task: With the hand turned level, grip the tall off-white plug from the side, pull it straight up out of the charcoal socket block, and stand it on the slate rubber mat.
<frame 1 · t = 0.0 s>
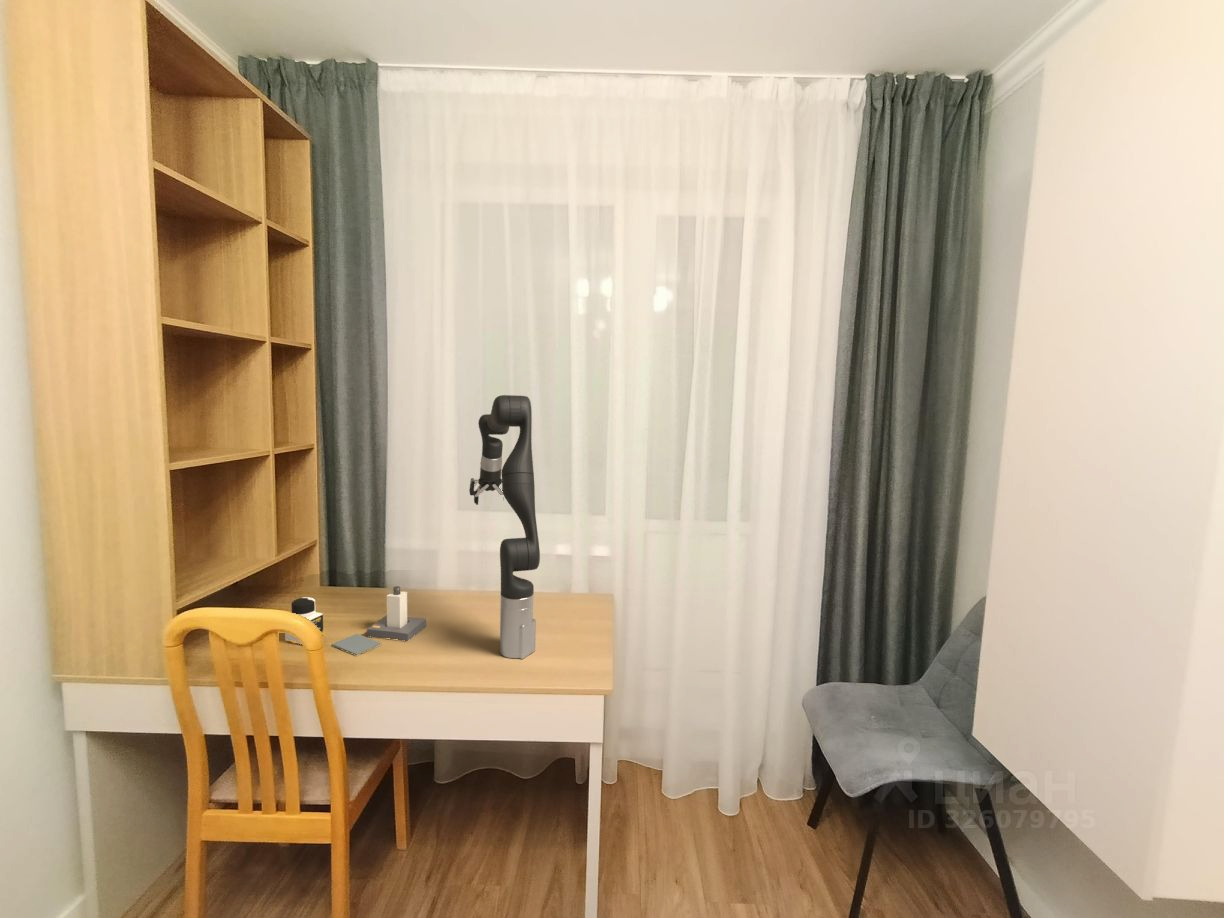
hand: (488, 503, 208), 31 cm above the table, tool tilted 20°, fingers open, 8 cm apart
mat: (356, 645, 159), on the table
socket block: (397, 631, 169), on the table
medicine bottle: (304, 639, 162), on the table
plug: (397, 609, 168), in the socket block
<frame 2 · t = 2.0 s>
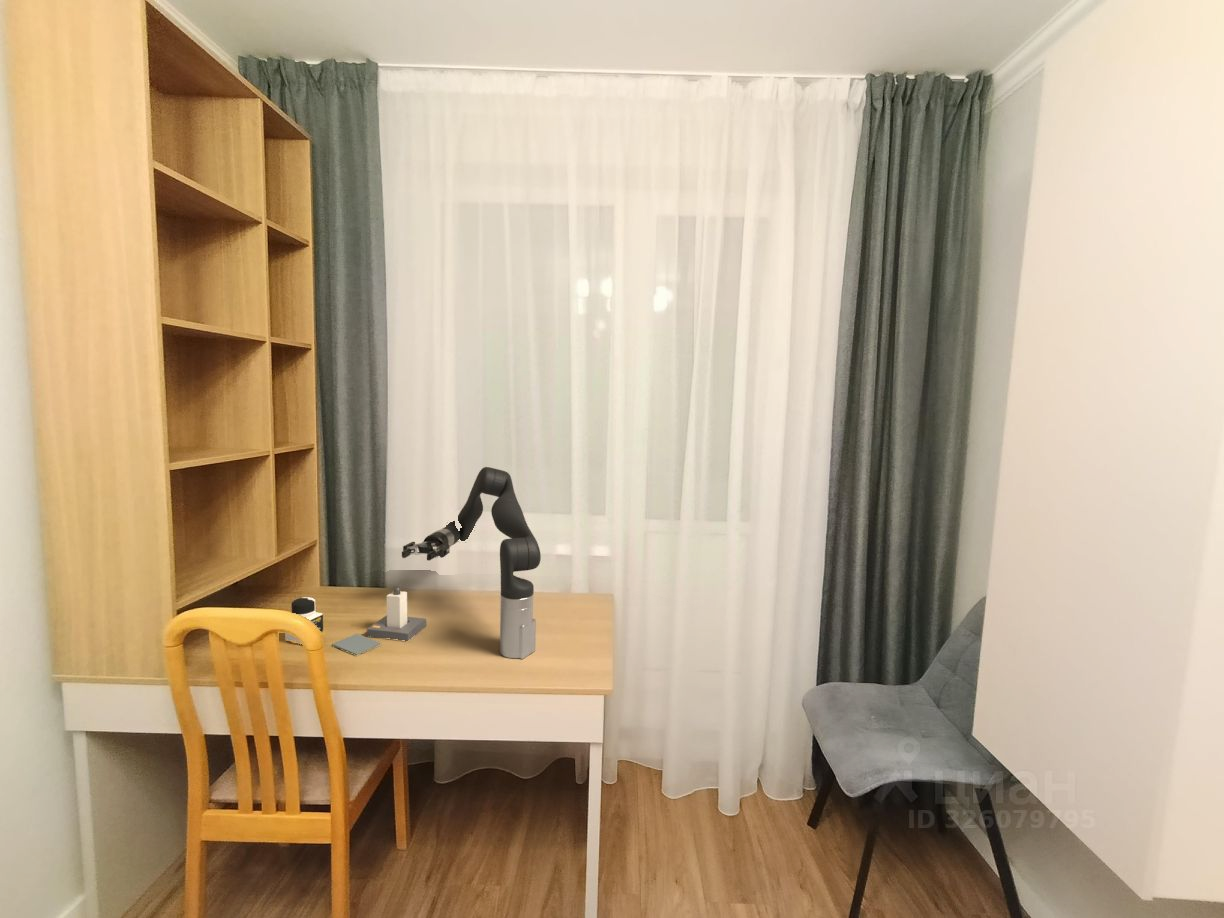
hand: (415, 556, 178), 20 cm above the table, tool horizontal, fingers open, 8 cm apart
nothing on the table moved.
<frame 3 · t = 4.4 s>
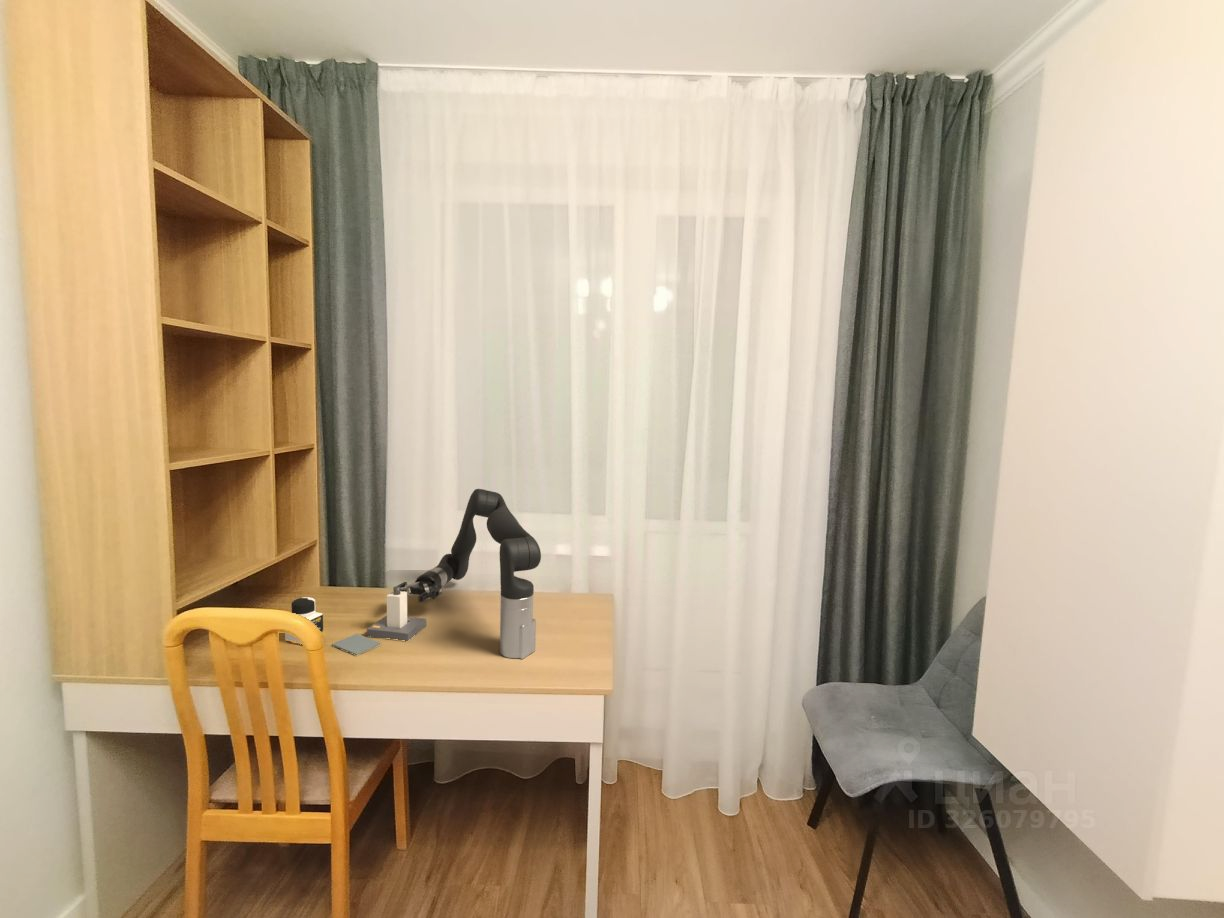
hand: (406, 598, 174), 8 cm above the table, tool horizontal, fingers open, 8 cm apart
nothing on the table moved.
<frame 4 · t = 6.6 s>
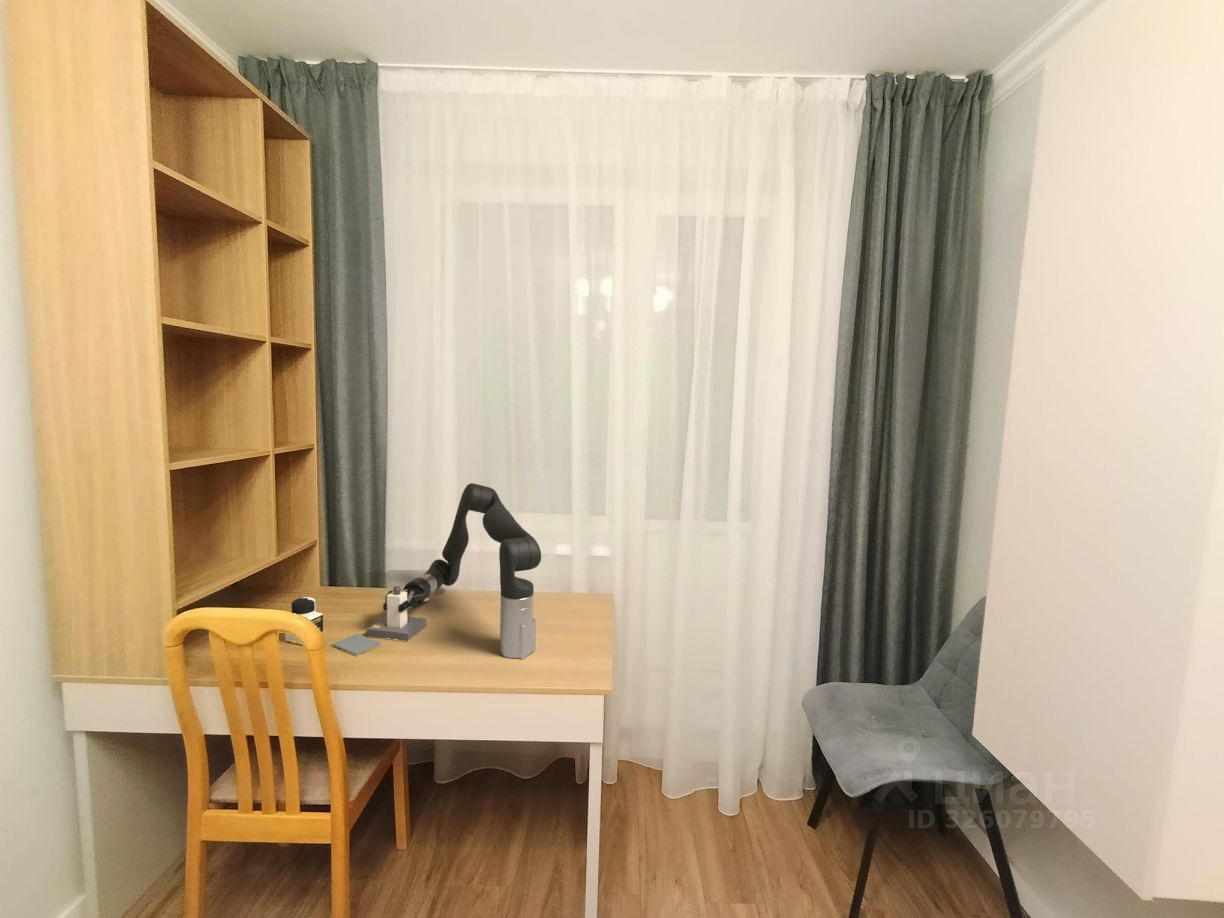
hand: (392, 608, 166), 9 cm above the table, tool horizontal, fingers closed on plug, 4 cm apart
plug: (397, 609, 168), in the socket block, touching gripper
everything else where it was.
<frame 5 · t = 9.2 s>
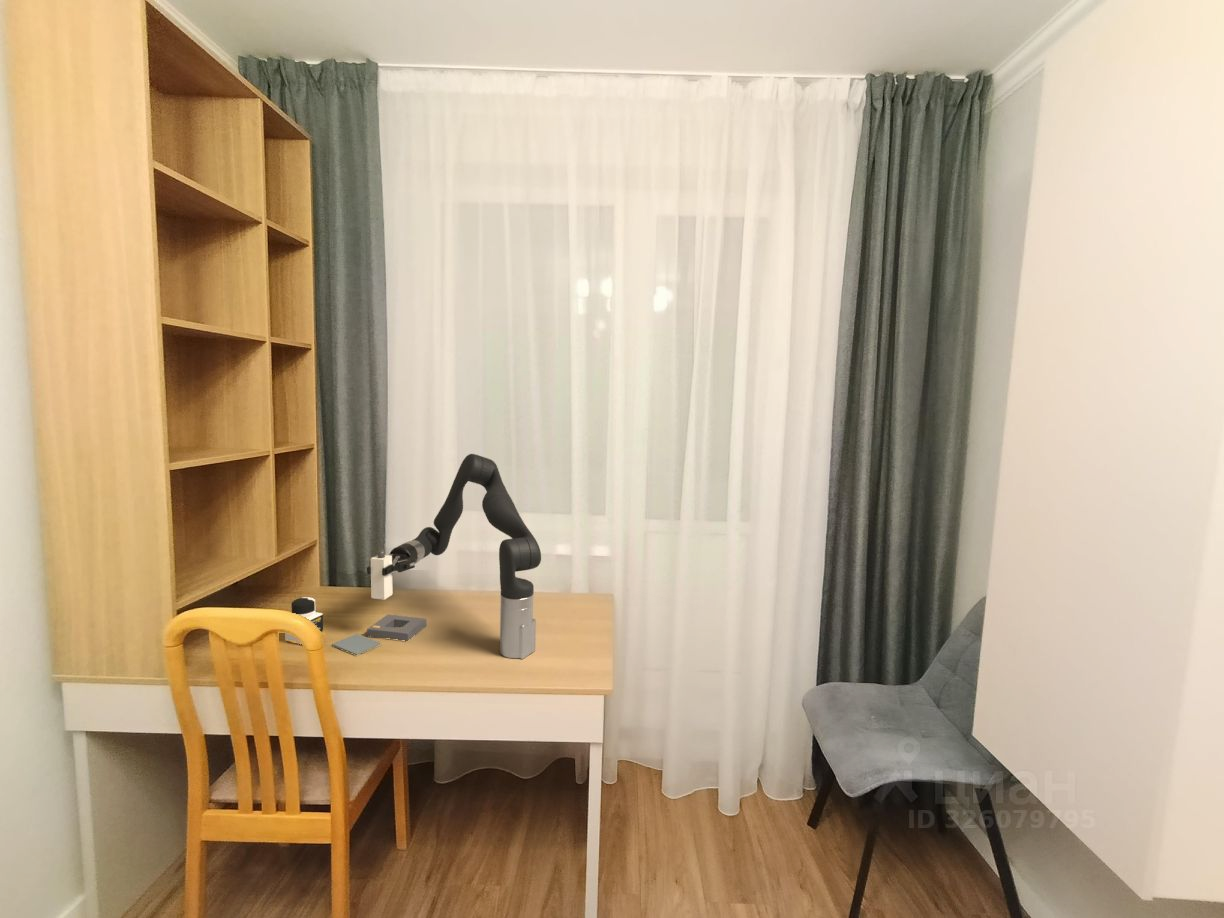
hand: (376, 571, 161), 21 cm above the table, tool horizontal, fingers closed on plug, 4 cm apart
plug: (381, 573, 163), point 19 cm above the table, touching gripper
everything else where it was.
when the fingers open (10 cm above the table, at t = 12.1 s): plug drops 1 cm, resting on mat.
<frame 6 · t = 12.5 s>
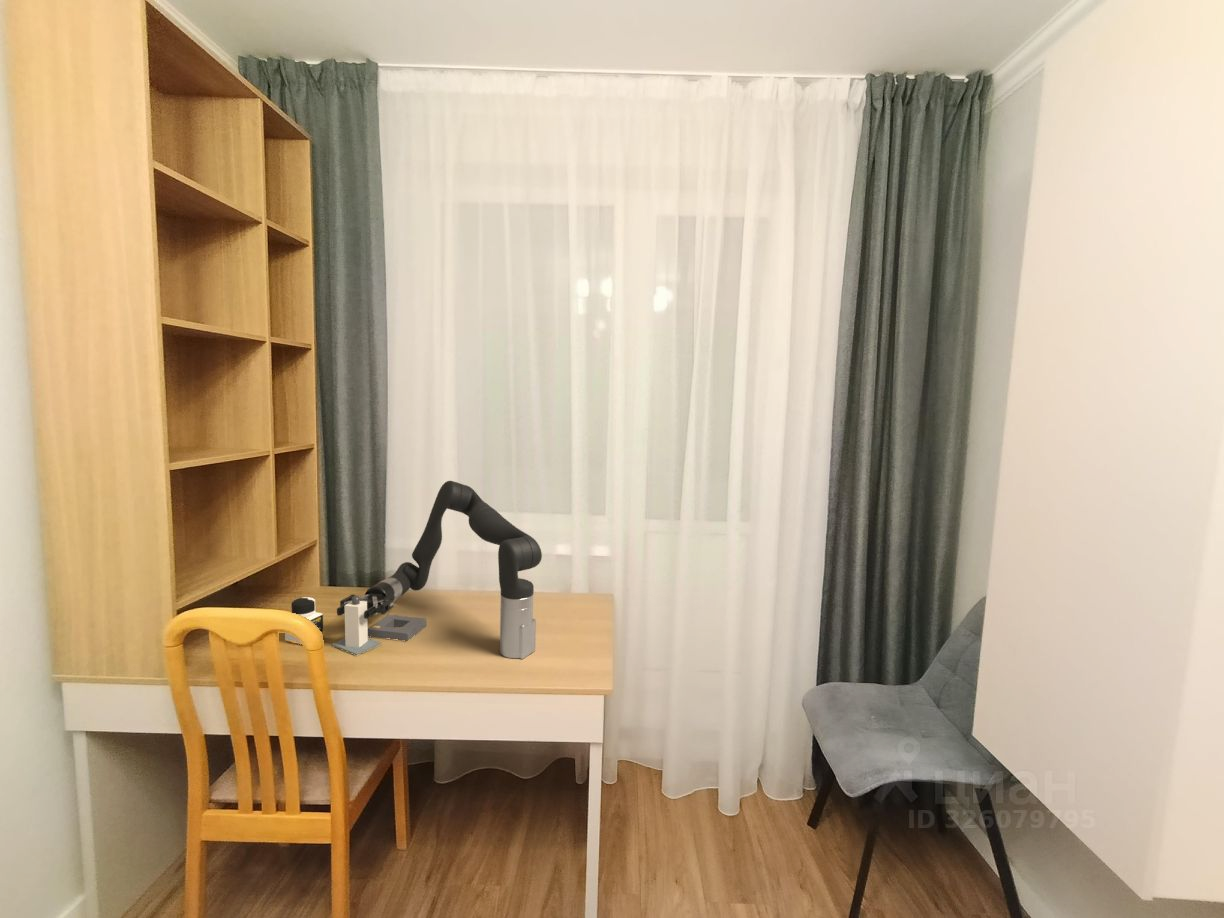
hand: (351, 613, 156), 10 cm above the table, tool horizontal, fingers open, 8 cm apart
plug: (356, 620, 159), on the mat, point 8 cm above the table
everything else where it was.
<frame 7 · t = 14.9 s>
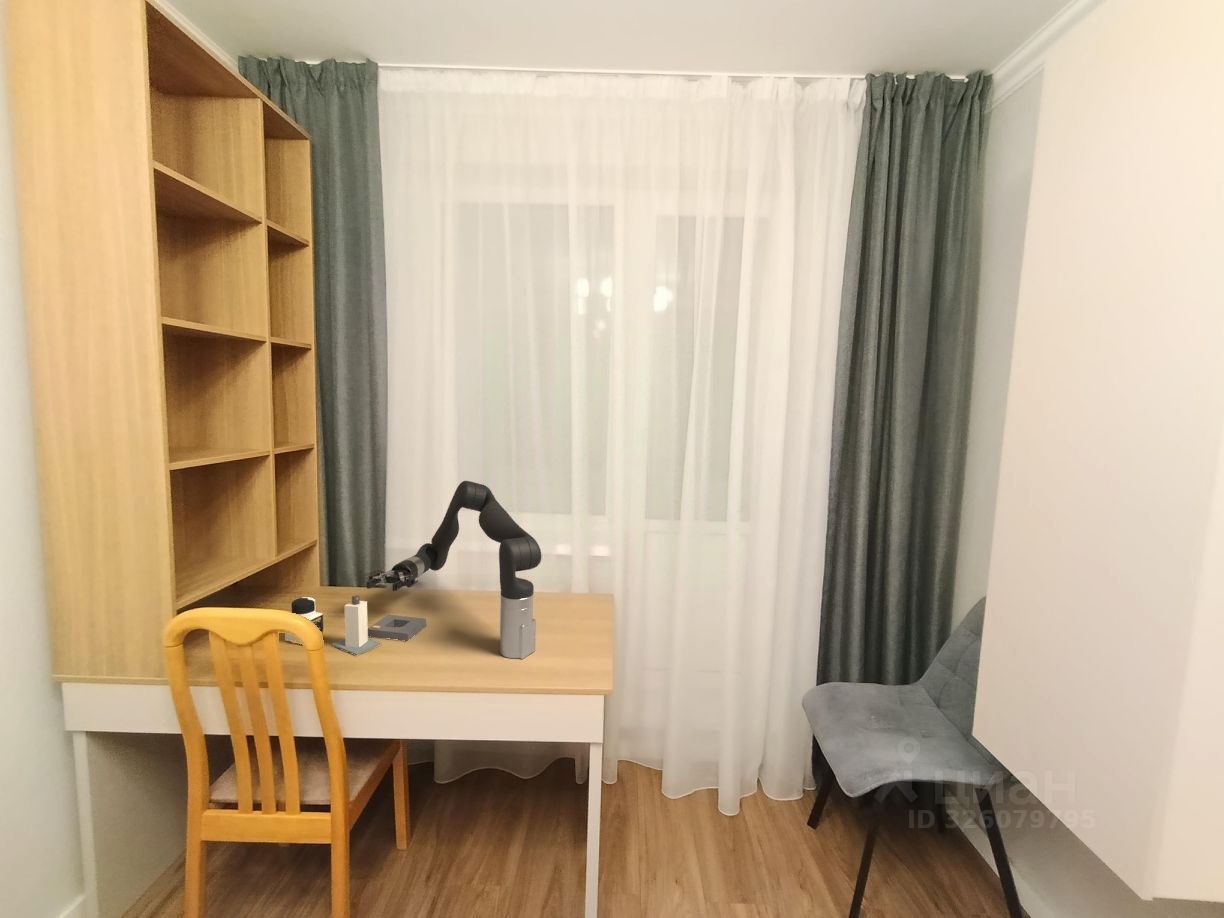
hand: (380, 586, 169), 13 cm above the table, tool horizontal, fingers open, 8 cm apart
nothing on the table moved.
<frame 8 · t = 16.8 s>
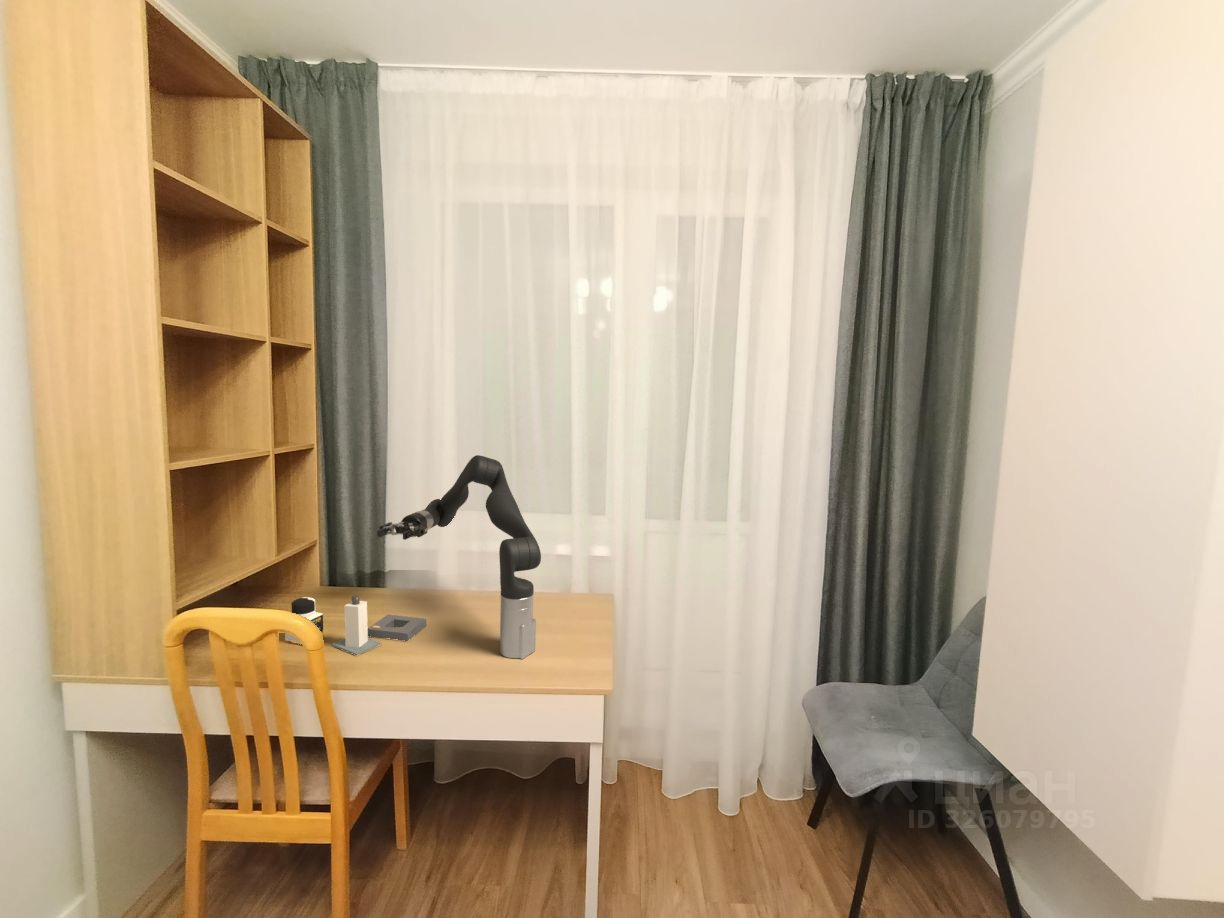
hand: (391, 535, 173), 28 cm above the table, tool horizontal, fingers open, 8 cm apart
nothing on the table moved.
at the end: plug inside the target area on the mat (0.0 cm from its centre), point 7.6 cm above the mat's base; plug tilted 0°; the gripper is holding nothing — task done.
